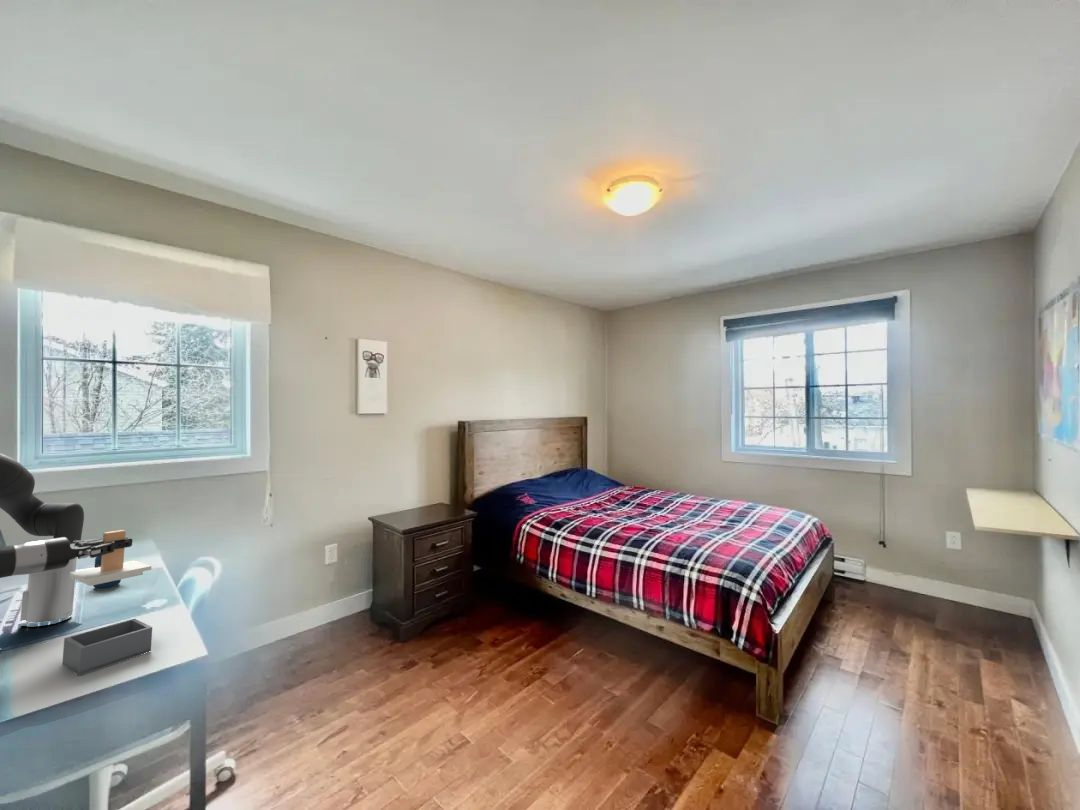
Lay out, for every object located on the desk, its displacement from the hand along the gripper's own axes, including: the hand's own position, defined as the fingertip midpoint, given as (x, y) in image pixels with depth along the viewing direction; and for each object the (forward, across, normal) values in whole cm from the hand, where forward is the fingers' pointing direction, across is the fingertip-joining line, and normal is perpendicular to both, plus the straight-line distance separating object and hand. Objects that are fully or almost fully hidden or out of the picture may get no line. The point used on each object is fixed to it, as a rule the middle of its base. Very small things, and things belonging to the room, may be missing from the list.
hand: (129, 541), depth 125 cm
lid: (-3, 0, +9) cm, 9 cm away
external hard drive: (+13, +72, +25) cm, 78 cm away
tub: (-8, -16, +24) cm, 30 cm away
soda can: (+12, +47, +24) cm, 54 cm away
